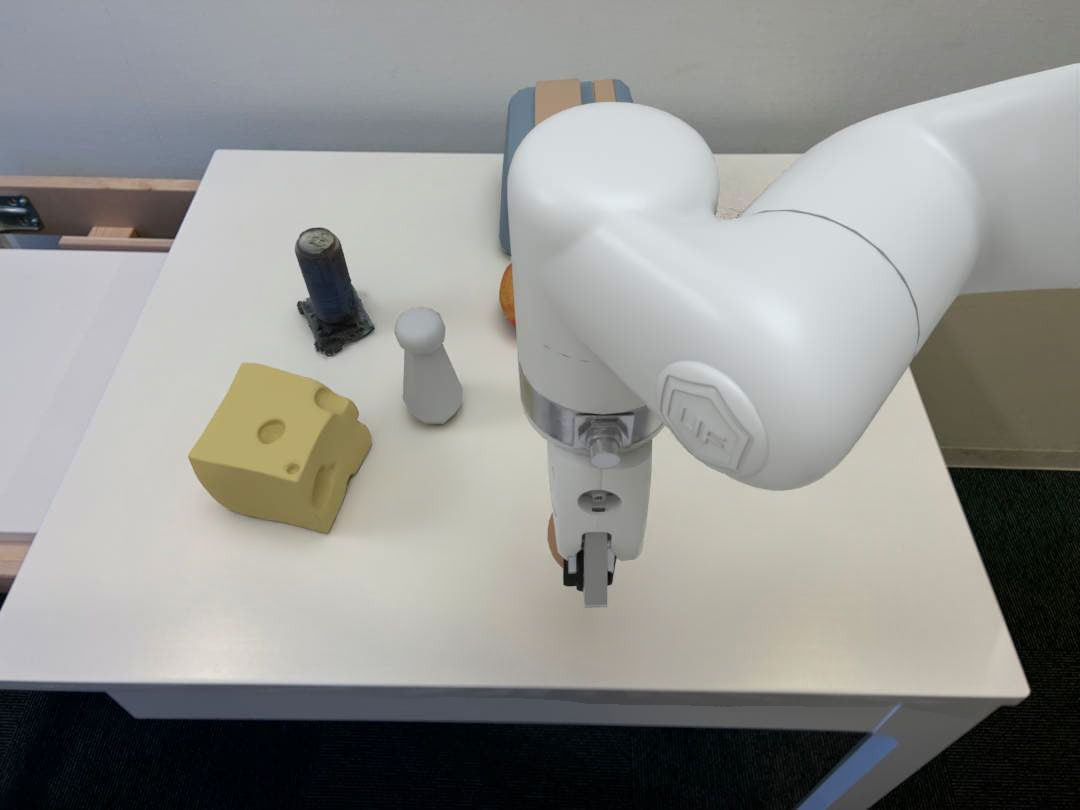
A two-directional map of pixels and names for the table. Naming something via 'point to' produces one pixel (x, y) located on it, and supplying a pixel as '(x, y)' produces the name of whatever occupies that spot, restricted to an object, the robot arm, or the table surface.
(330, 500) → the cheese
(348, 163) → the table surface
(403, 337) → the salt shaker
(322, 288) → the dark blue cylinder
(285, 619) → the table surface
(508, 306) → the fruit
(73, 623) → the table surface
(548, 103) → the blue toy backpack
